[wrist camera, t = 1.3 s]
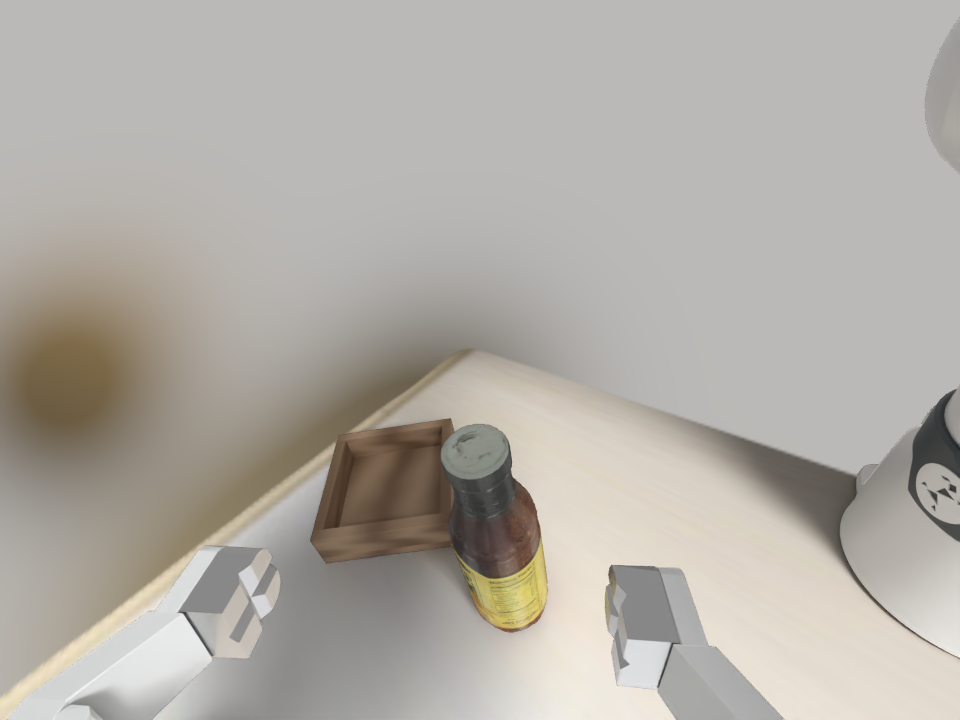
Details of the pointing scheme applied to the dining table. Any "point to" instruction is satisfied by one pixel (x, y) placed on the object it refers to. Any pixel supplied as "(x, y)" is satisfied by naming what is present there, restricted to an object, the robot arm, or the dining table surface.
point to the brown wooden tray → (385, 493)
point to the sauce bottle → (494, 529)
